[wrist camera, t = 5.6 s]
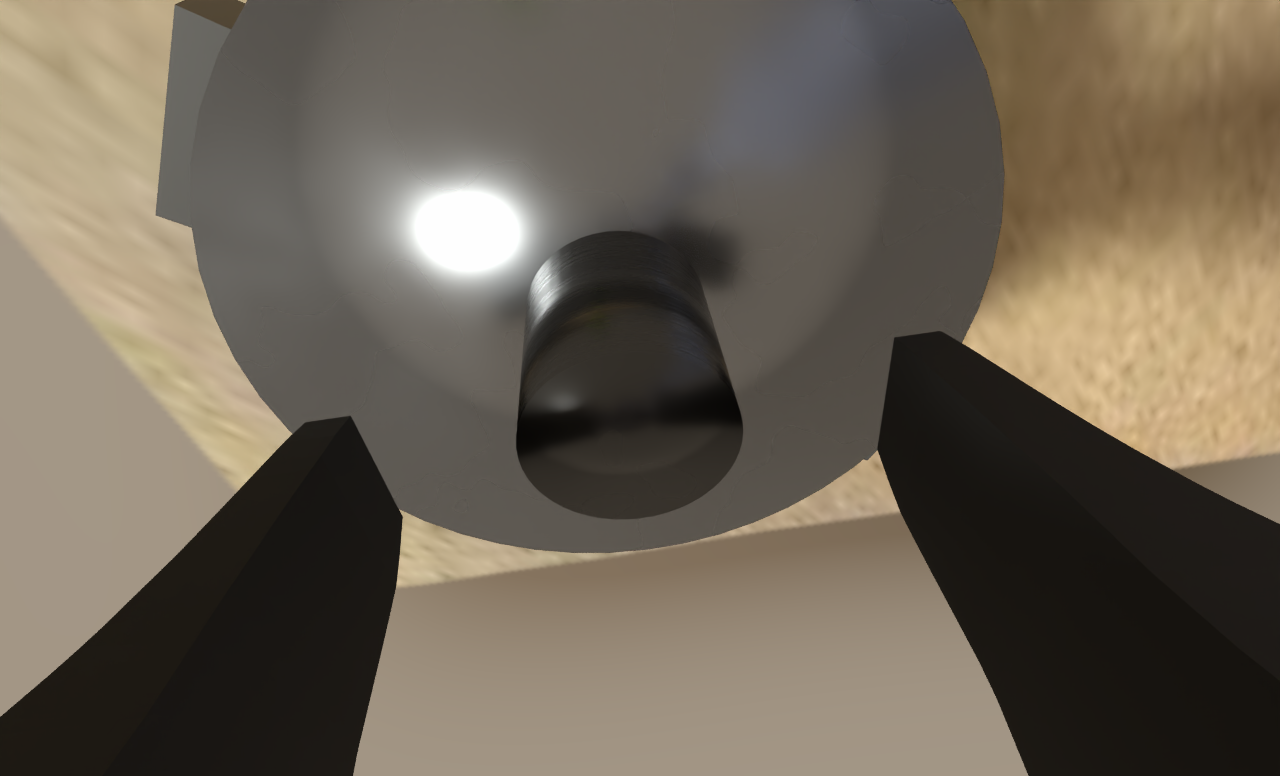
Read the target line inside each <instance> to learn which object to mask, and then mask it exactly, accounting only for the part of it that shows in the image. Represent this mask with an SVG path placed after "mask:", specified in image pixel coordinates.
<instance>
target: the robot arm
mask: <svg viewBox="0 0 1280 776" xmlns="http://www.w3.org/2000/svg"><path fill="white" fill-rule="evenodd" d="M877 449H878V452H879V455H880V458H881V461H882V464H883V466H884V469H885V472H886V475H887V478H888V481H889V483H890V486H891V489H892V491H893V494H894V496H895V499H896V502H897V504H898V507H899V509H900V512H901V514H902V516H903V518H904V520H905V522H906V524H907V526H908V528H909V530H910V532H911V534H912V536H913V538H914V540H915V542H916V543H917V545H918V547H919V549H920V551H921V553H922V555H923V557H924V559H925V561H926V563H927V565H928V566H929V568H930V570H931V572H932V574H933V576H934V578H935V579H936V582H937V583H938V585H939V587H940V589H941V591H942V593H943V595H944V596H945V598H946V600H947V602H948V604H949V606H950V608H951V610H952V612H953V613H954V615H955V617H956V619H957V621H958V623H959V625H960V627H961V628H962V630H963V632H964V634H965V636H966V638H967V640H968V642H969V643H970V645H971V647H972V649H973V651H974V653H975V654H976V657H977V659H978V661H979V662H980V664H981V666H982V668H983V671H984V673H985V675H986V677H987V679H988V681H989V683H990V685H991V687H992V689H993V692H994V694H995V696H996V698H997V700H998V703H999V705H1000V707H1001V710H1002V712H1003V715H1004V717H1005V720H1006V722H1007V724H1008V727H1009V729H1010V732H1011V734H1012V737H1013V739H1014V741H1015V743H1016V746H1017V749H1018V751H1019V753H1020V756H1021V758H1022V761H1023V763H1024V766H1025V768H1026V770H1027V773H1028V775H1029V776H1280V524H1278V523H1276V522H1274V521H1272V520H1270V519H1268V518H1266V517H1264V516H1262V515H1259V514H1257V513H1255V512H1253V511H1251V510H1249V509H1247V508H1245V507H1242V506H1240V505H1238V504H1236V503H1234V502H1232V501H1230V500H1228V499H1226V498H1224V497H1223V496H1221V495H1219V494H1217V493H1214V492H1213V491H1211V490H1209V489H1207V488H1205V487H1203V486H1201V485H1199V484H1197V483H1195V482H1193V481H1192V480H1190V479H1188V478H1186V477H1184V476H1182V475H1180V474H1179V473H1177V472H1175V471H1173V470H1171V469H1170V468H1168V467H1166V466H1164V465H1162V464H1161V463H1159V462H1157V461H1155V460H1153V459H1151V458H1150V457H1148V456H1146V455H1144V454H1142V453H1140V452H1139V451H1137V450H1135V449H1133V448H1131V447H1130V446H1128V445H1126V444H1125V443H1123V442H1121V441H1119V440H1118V439H1116V438H1114V437H1112V436H1111V435H1109V434H1107V433H1106V432H1104V431H1102V430H1100V429H1099V428H1097V427H1095V426H1094V425H1092V424H1090V423H1089V422H1087V421H1085V420H1084V419H1082V418H1080V417H1079V416H1077V415H1076V414H1074V413H1072V412H1071V411H1069V410H1067V409H1066V408H1064V407H1062V406H1061V405H1059V404H1058V403H1056V402H1054V401H1053V400H1051V399H1050V398H1048V397H1046V396H1045V395H1043V394H1042V393H1040V392H1038V391H1037V390H1035V389H1034V388H1032V387H1030V386H1029V385H1027V384H1026V383H1024V382H1023V381H1021V380H1019V379H1018V378H1016V377H1015V376H1013V375H1011V374H1010V373H1008V372H1007V371H1005V370H1004V369H1002V368H1000V367H999V366H997V365H996V364H994V363H993V362H991V361H989V360H988V359H986V358H985V357H983V356H982V355H980V354H978V353H977V352H975V351H974V350H972V349H970V348H969V347H967V346H966V345H964V344H962V343H961V342H959V341H957V340H956V339H954V338H952V337H951V336H949V335H947V334H945V333H944V332H942V331H935V332H928V333H921V334H915V335H908V336H901V337H894V342H893V349H892V355H891V362H890V368H889V375H888V381H887V388H886V394H885V401H884V408H883V414H882V421H881V427H880V434H879V440H878V447H877ZM402 519H403V517H402V515H401V513H400V511H399V509H398V507H397V505H396V503H395V501H394V499H393V497H392V495H391V493H390V491H389V489H388V487H387V485H386V483H385V481H384V479H383V477H382V476H381V474H380V472H379V470H378V468H377V466H376V464H375V462H374V460H373V458H372V456H371V454H370V452H369V450H368V448H367V446H366V444H365V442H364V440H363V438H362V437H361V435H360V433H359V431H358V429H357V427H356V425H355V423H354V421H353V419H352V417H351V416H345V417H338V418H331V419H324V420H317V421H310V422H305V423H304V424H303V425H302V426H301V427H300V428H299V429H297V430H296V431H295V432H294V433H293V434H292V435H291V436H290V437H289V438H288V439H287V440H286V441H285V442H284V443H283V444H282V445H281V446H280V447H279V448H278V449H277V450H276V451H275V452H274V454H273V455H272V456H271V457H270V458H269V459H268V460H267V461H266V462H265V463H264V464H263V465H262V466H261V467H260V468H259V469H258V470H257V471H256V473H255V474H254V475H253V476H252V477H251V478H250V479H249V480H248V481H247V482H246V483H245V484H244V485H243V486H242V487H241V488H240V490H239V491H238V492H237V493H236V494H235V495H234V496H233V497H232V498H231V499H230V500H229V501H228V502H227V503H226V504H225V505H224V506H223V508H222V509H220V511H219V512H218V513H217V514H216V515H215V516H214V517H213V518H212V519H211V520H210V521H209V522H208V523H207V524H206V525H205V526H204V527H203V528H202V529H201V531H199V532H198V533H197V535H196V536H195V537H194V538H193V539H192V540H191V541H190V542H189V543H188V544H187V545H186V546H185V547H184V548H183V549H182V550H181V551H180V552H179V553H178V554H177V555H176V556H175V557H174V558H173V559H172V560H171V561H170V562H169V563H168V564H167V565H166V566H165V567H164V568H163V569H162V570H161V571H160V572H159V573H158V574H157V575H156V576H155V577H154V578H153V579H152V580H151V581H149V583H147V584H146V585H145V586H144V587H143V588H142V589H141V590H140V591H139V592H138V593H137V594H136V595H135V596H134V597H133V598H132V599H131V600H130V601H129V602H128V603H127V604H126V605H125V606H124V607H123V608H122V609H121V610H120V611H119V612H118V613H117V614H116V615H115V616H114V617H112V619H110V620H109V621H108V623H106V624H105V625H104V626H103V627H102V628H101V629H100V630H99V631H98V632H97V633H96V634H95V635H94V636H92V637H91V638H90V639H89V640H88V641H87V642H86V643H85V644H84V645H83V646H82V647H81V648H79V649H78V650H77V651H76V652H75V653H74V654H73V655H72V656H70V657H69V658H68V659H67V660H66V661H65V662H64V663H63V664H61V665H60V666H59V667H58V668H57V669H56V670H55V671H54V672H52V673H51V674H50V675H49V676H48V677H47V678H45V679H44V680H43V681H42V682H41V683H40V684H38V685H37V686H36V687H35V688H34V689H33V690H31V691H30V692H29V693H28V694H27V695H25V696H24V697H23V698H22V699H21V700H20V701H18V702H17V703H16V704H15V705H14V706H13V707H11V708H10V709H9V710H8V711H7V712H6V713H4V714H3V715H2V716H1V717H0V776H353V772H354V767H355V762H356V756H357V752H358V747H359V743H360V739H361V735H362V731H363V726H364V722H365V718H366V714H367V710H368V705H369V701H370V697H371V693H372V689H373V684H374V680H375V676H376V672H377V668H378V663H379V659H380V655H381V651H382V646H383V642H384V638H385V633H386V629H387V624H388V620H389V616H390V612H391V607H392V603H393V597H394V594H395V589H396V583H397V574H398V565H399V556H400V544H401V531H402Z"/></svg>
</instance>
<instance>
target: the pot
mask: <svg viewBox="0 0 1280 776" xmlns="http://www.w3.org/2000/svg"><path fill="white" fill-rule="evenodd" d="M244 6H245V3H243V2H240V1H238V0H184V1H182V2H180V3H177V4H175V8H174V19H173V30H172V41H171V52H170V63H169V74H168V85H167V96H166V107H165V118H164V129H163V140H162V151H161V162H160V173H159V184H158V194H157V205H156V216H159V217H162V218H165V219H168V220H171V221H174V222H177V223H180V224H183V225H185V226H188V227H191V228H192V225H191V215H190V163H191V157H192V151H193V145H194V138H195V132H196V126H197V119H198V113H199V108H200V106H201V103H202V100H203V97H204V94H205V91H206V88H207V85H208V82H209V79H210V76H211V73H212V70H213V67H214V64H215V61H216V59H217V56H218V53H219V51H220V49H221V47H222V46H223V44H224V42H225V40H226V38H227V36H228V35H229V33H230V31H231V29H232V27H233V26H234V24H235V22H236V20H237V18H238V16H239V15H240V13H241V11H242V9H243V7H244ZM877 450H878V449H877V448H876V449H875V450H874V451H873V452H871V453H870V454H869V455H868V456H867V457H865V458H864V459H865V460H868V459H869V458H870V457H871V456H872V455H873V454H874V453H875V452H876V451H877Z"/></svg>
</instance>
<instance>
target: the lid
mask: <svg viewBox="0 0 1280 776" xmlns="http://www.w3.org/2000/svg"><path fill="white" fill-rule="evenodd" d="M1003 189H1004V165H1003V154H1002V143H1001V132H1000V123H999V119H998V115H997V111H996V107H995V103H994V99H993V95H992V91H991V87H990V83H989V79H988V75H987V72H986V69H985V67H984V65H983V62H982V60H981V58H980V55H979V53H978V51H977V48H976V46H975V44H974V42H973V39H972V37H971V35H970V32H969V30H968V28H967V25H966V23H965V21H964V19H963V18H962V16H961V15H960V13H959V11H958V10H957V8H956V7H955V5H954V4H953V2H952V1H951V0H247V2H246V4H245V6H244V7H243V9H242V11H241V13H240V15H239V16H238V18H237V20H236V22H235V24H234V26H233V27H232V29H231V31H230V33H229V35H228V36H227V38H226V40H225V42H224V44H223V46H222V47H221V49H220V51H219V53H218V56H217V59H216V61H215V64H214V67H213V70H212V73H211V76H210V79H209V82H208V85H207V88H206V91H205V94H204V97H203V100H202V103H201V106H200V108H199V113H198V119H197V126H196V132H195V138H194V145H193V151H192V157H191V163H190V215H191V225H192V231H193V237H194V243H195V249H196V255H197V261H198V267H199V272H200V275H201V278H202V281H203V284H204V287H205V290H206V293H207V296H208V299H209V302H210V305H211V309H212V312H213V315H214V317H215V319H216V322H217V324H218V326H219V328H220V330H221V332H222V334H223V336H224V338H225V340H226V342H227V344H228V346H229V348H230V350H231V352H232V354H233V356H234V358H235V360H236V361H237V363H238V364H239V366H240V367H241V369H242V370H243V372H244V373H245V375H246V376H247V378H248V379H249V381H250V382H251V384H252V385H253V387H254V388H255V390H256V391H257V393H258V394H259V396H260V397H261V398H262V400H263V401H264V402H265V403H266V404H267V405H268V407H269V408H270V409H271V410H272V411H273V412H274V414H275V415H276V416H277V417H278V418H279V419H280V420H281V422H282V423H283V424H284V425H285V426H286V427H287V429H288V430H289V431H290V432H291V433H292V434H293V433H294V432H295V431H296V430H297V429H299V428H300V427H301V426H302V425H303V424H304V423H305V422H310V421H317V420H324V419H331V418H338V417H345V416H351V417H352V419H353V421H354V423H355V425H356V427H357V429H358V431H359V433H360V435H361V437H362V438H363V440H364V442H365V444H366V446H367V448H368V450H369V452H370V454H371V456H372V458H373V460H374V462H375V464H376V466H377V468H378V470H379V472H380V474H381V476H382V477H383V479H384V481H385V483H386V485H387V487H388V489H389V491H390V493H391V495H392V497H393V499H394V501H395V503H396V505H397V507H398V509H400V510H402V511H404V512H407V513H409V514H411V515H413V516H415V517H417V518H419V519H422V520H424V521H426V522H429V523H432V524H435V525H438V526H440V527H443V528H446V529H449V530H452V531H454V532H457V533H460V534H464V535H467V536H471V537H475V538H479V539H483V540H487V541H491V542H495V543H499V544H505V545H511V546H517V547H523V548H529V549H534V550H546V551H558V552H570V553H612V552H624V551H636V550H647V549H653V548H659V547H665V546H671V545H677V544H683V543H687V542H691V541H695V540H699V539H703V538H707V537H711V536H715V535H719V534H722V533H725V532H728V531H730V530H733V529H736V528H739V527H742V526H745V525H748V524H751V523H754V522H756V521H758V520H761V519H763V518H765V517H767V516H770V515H772V514H774V513H776V512H779V511H781V510H783V509H785V508H788V507H790V506H791V505H793V504H795V503H797V502H799V501H801V500H802V499H804V498H806V497H808V496H810V495H811V494H813V493H815V492H817V491H819V490H820V489H822V488H824V487H825V486H827V485H828V484H830V483H831V482H833V481H834V480H835V479H837V478H838V477H840V476H841V475H843V474H844V473H846V472H847V471H849V470H850V469H852V468H853V467H854V466H856V465H857V464H858V463H859V462H861V461H862V460H863V459H864V458H865V457H867V456H868V455H869V454H870V453H871V452H873V451H874V450H875V449H876V448H877V447H878V440H879V434H880V427H881V421H882V414H883V408H884V401H885V394H886V388H887V381H888V375H889V368H890V362H891V355H892V349H893V342H894V337H901V336H908V335H915V334H921V333H928V332H935V331H942V332H944V333H945V334H947V335H949V336H951V337H952V338H954V339H956V340H957V341H959V342H961V343H962V342H963V340H964V337H965V335H966V333H967V331H968V329H969V327H970V325H971V323H972V321H973V319H974V317H975V315H976V313H977V311H978V309H979V306H980V303H981V300H982V297H983V294H984V291H985V288H986V285H987V282H988V279H989V276H990V273H991V270H992V268H993V263H994V258H995V253H996V248H997V243H998V238H999V233H1000V228H1001V223H1002V207H1003Z"/></svg>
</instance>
